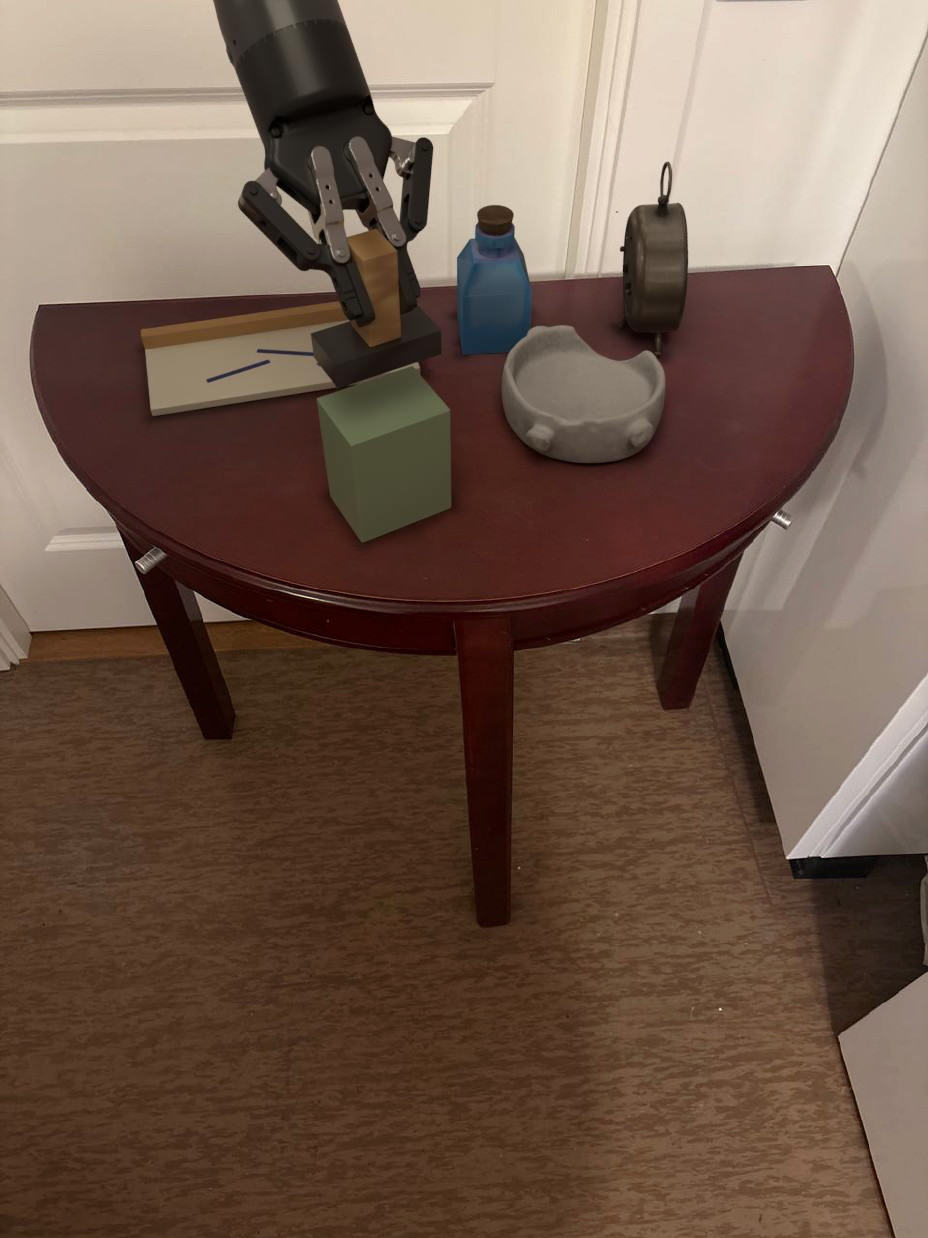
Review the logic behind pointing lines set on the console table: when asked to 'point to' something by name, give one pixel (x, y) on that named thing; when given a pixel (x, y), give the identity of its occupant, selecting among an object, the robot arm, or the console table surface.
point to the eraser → (376, 322)
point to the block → (387, 452)
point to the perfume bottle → (492, 286)
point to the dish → (580, 397)
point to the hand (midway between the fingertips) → (388, 315)
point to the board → (238, 358)
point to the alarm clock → (655, 266)
